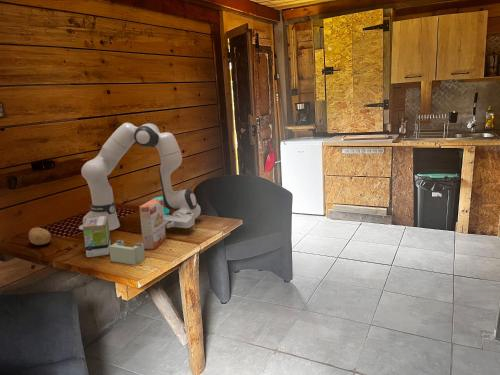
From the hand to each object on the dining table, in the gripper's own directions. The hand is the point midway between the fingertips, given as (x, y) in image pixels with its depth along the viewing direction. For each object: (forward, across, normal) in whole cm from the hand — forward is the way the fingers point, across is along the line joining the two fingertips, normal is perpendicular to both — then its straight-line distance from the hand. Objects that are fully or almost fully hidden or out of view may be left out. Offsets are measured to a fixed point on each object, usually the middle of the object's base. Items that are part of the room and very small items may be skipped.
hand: (165, 226), depth 195 cm
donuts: (-33, -27, +6) cm, 43 cm away
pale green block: (+29, 0, +6) cm, 30 cm away
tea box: (+24, -21, +6) cm, 33 cm away
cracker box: (+9, 0, +6) cm, 11 cm away
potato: (+27, -56, +6) cm, 62 cm away
